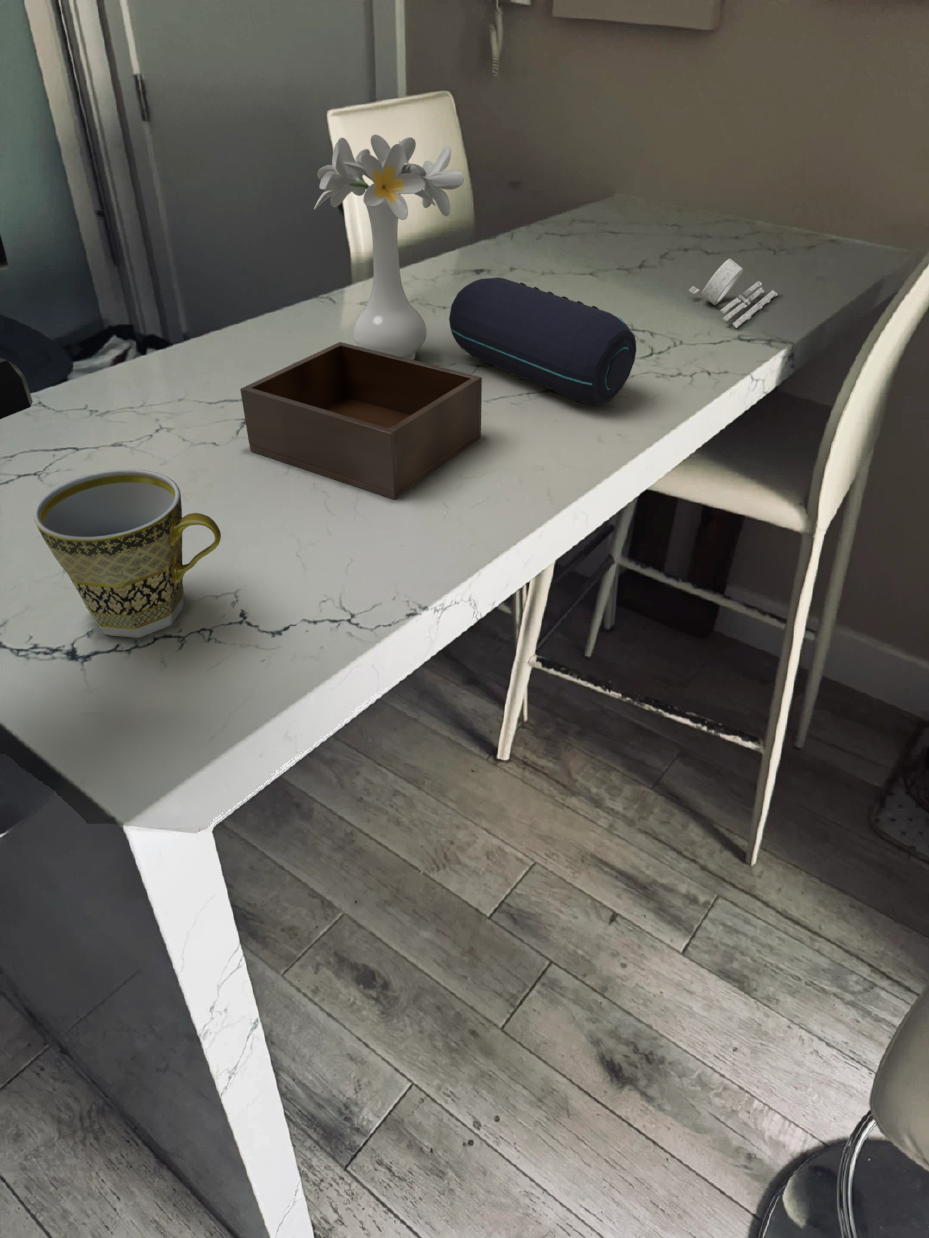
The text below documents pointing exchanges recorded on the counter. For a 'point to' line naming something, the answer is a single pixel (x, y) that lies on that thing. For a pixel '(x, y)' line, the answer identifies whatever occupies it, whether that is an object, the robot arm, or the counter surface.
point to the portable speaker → (544, 338)
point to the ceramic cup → (122, 546)
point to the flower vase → (388, 231)
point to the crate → (364, 417)
